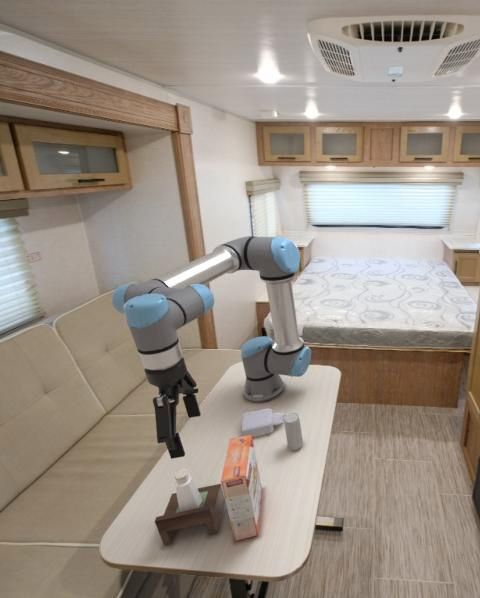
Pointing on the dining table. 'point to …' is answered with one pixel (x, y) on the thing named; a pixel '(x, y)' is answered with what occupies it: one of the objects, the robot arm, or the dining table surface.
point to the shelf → (192, 513)
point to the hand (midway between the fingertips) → (187, 434)
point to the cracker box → (242, 487)
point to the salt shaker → (186, 491)
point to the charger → (260, 422)
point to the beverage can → (293, 431)
